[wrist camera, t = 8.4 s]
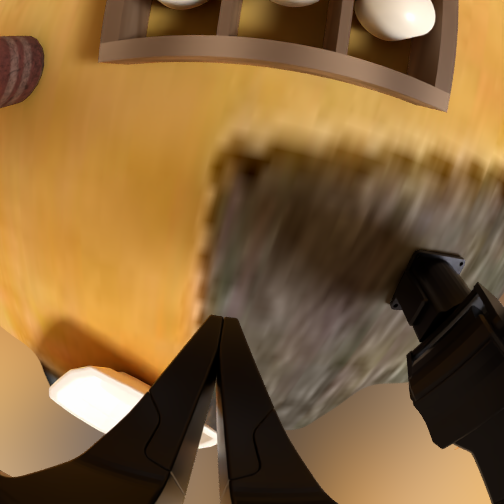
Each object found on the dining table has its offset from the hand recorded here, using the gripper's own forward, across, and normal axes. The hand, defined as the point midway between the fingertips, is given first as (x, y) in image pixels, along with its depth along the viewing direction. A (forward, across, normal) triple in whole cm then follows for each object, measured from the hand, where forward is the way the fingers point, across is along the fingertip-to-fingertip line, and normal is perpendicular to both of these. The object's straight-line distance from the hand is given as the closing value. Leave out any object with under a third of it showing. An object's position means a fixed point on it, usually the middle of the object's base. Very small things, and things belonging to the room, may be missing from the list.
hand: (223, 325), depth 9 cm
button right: (+12, -7, -14) cm, 19 cm away
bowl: (+13, +13, +32) cm, 37 cm away
